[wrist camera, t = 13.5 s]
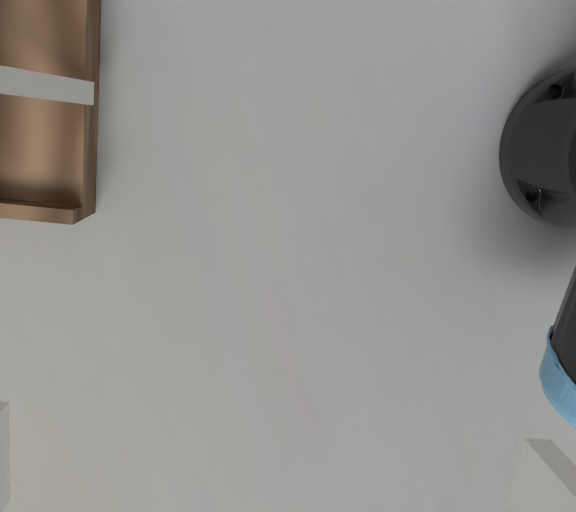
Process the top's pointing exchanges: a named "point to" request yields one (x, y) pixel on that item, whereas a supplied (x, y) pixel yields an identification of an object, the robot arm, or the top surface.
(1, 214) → the walnut ledge
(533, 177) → the robot arm
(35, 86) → the picture frame
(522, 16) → the top surface
